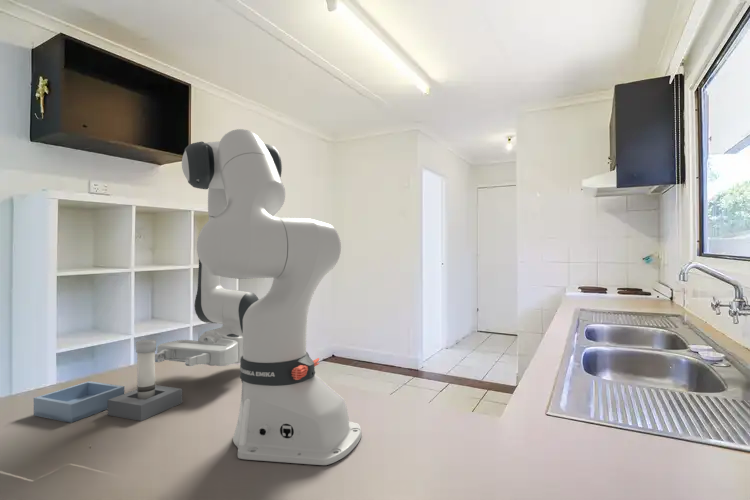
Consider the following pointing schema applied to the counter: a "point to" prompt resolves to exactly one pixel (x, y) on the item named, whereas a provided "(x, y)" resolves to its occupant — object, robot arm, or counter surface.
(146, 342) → the fuse
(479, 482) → the counter surface
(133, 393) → the block
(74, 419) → the parts tray
